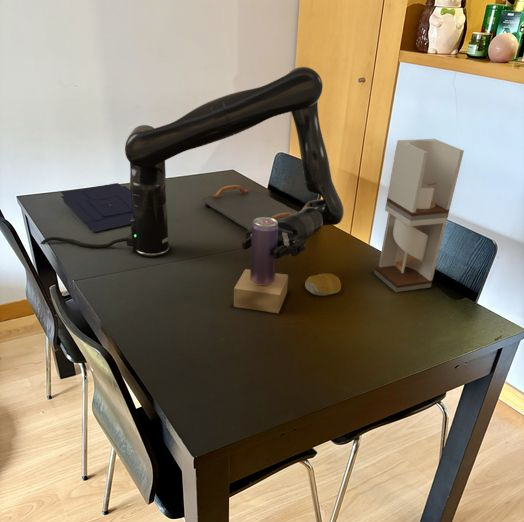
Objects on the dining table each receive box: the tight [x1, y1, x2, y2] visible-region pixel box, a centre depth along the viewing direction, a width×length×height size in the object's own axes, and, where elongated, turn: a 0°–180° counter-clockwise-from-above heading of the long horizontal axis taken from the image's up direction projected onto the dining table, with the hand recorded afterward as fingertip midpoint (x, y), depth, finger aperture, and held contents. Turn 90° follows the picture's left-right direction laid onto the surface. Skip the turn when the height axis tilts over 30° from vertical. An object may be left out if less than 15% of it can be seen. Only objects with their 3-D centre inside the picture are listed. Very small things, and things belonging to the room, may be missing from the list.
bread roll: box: [304, 272, 342, 297], centre depth 140 cm, size 8×9×4 cm
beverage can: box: [249, 217, 278, 286], centre depth 128 cm, size 6×6×15 cm
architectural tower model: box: [373, 138, 465, 293], centre depth 137 cm, size 11×11×35 cm
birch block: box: [233, 268, 289, 314], centre depth 133 cm, size 11×11×5 cm
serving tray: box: [201, 184, 298, 231], centre depth 180 cm, size 39×23×6 cm, turn 34°
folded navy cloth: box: [60, 182, 133, 233], centre depth 179 cm, size 24×30×4 cm
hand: (259, 250), depth 125 cm, fingers open, 8 cm apart
